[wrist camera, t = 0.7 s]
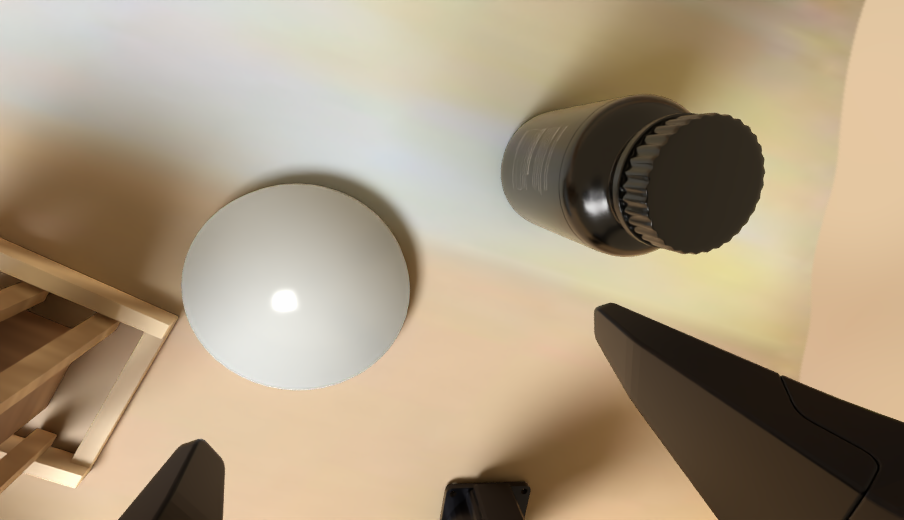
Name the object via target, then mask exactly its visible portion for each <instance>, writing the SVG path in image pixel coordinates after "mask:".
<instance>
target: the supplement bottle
mask: <svg viewBox="0 0 904 520" xmlns="http://www.w3.org/2000/svg"><path fill="white" fill-rule="evenodd" d="M763 165H764V157H763V155H762V148H761V145H760V144H759V143H758V141H757V136H756V135H755V134H753V133H752V132H751V129H750V127H749V126H747V125H744V124H743V123H742V121H741V120H740V119H734V118H733V117H731V116H730V115H726V114H724V115H720V114H718V113H705V114H694V113H690V112H689V111H688V110H687V109H686V108H684V107H683V106H681V105H680V104H678V103H677V102H675V101H673V100H671V99H668V98H665V97H662V96H658V95H651V94H638V95H630V96H625V97H620V98H614V99H609V100H604V101H599V102H594V103H589V104H584V105H579V106H574V107H569V108H564V109H559V110H554V111H549V112H546V113H542V114H540V115H537V116H535V117H533V118H532V119H530V120H528V121H527V122H526V123H524V124H523V125H522V126H521V127H520V128H519V129H518V130H517V131H516V132H515V134H514V135H513V137H512V138H511V140H510V141H509V143H508V145H507V147H506V150H505V152H504V156H503V160H502V165H501V180H502V186H503V190H504V193H505V195H506V198H507V200H508V202H509V203H510V205H511V206H512V208H513V209H514V210H515V211H516V212H517V213H518V214H519V215H520V216H521V217H523V218H524V219H526V220H527V221H529V222H531V223H533V224H535V225H537V226H540V227H542V228H544V229H547V230H549V231H551V232H554V233H556V234H558V235H561V236H563V237H566V238H568V239H570V240H573V241H575V242H577V243H580V244H582V245H584V246H587V247H589V248H591V249H594V250H596V251H599V252H602V253H605V254H608V255H613V256H620V257H632V256H639V255H643V254H647V253H650V252H653V251H656V250H658V249H660V248H663V249H667V250H670V251H674V252H678V253H681V254H687V253H690V254H698V253H700V252H709V251H710V250H712V249H714V248H715V249H716V248H719V247H720V246H722V245H723V244H724V243H727V242H729V241H730V240H731V239H732V237H733V236H734V235H736V234H738V233H739V232H740V230H741V228H742V227H743V226H744V225H745V224H746V223H747V222H748V220H749V217H750V216H751V214H752V213H753V212H754V211H755V207H756V204H757V202H758V201H759V199H760V193H761V190H762V188H763V185H764V184H763V177H764V174H765V170H764V166H763Z"/></svg>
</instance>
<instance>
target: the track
mask: <svg viewBox="0 0 904 520" xmlns="http://www.w3.org/2000/svg"><path fill="white" fill-rule="evenodd" d="M0 271H1V272H3V273H5V274H8V275H10V276H13V277H15V278H17V279H20V280H22V281H24V282H27V283H29V284H32V285H34V286H36V287H39V288H41V289H43V290H46V291H48V292H51V293H53V294H55V295H58V296H60V297H62V298H65V299H67V300H70V301H72V302H74V303H77V304H79V305H81V306H84V307H86V308H89V309H91V310H93V311H96V312H98V313H100V314H103V315H105V316H108V317H110V318H112V319H115V320H117V321H119V322H122V323H124V324H127V325H129V326H131V327H134V328H136V329H138V330H141V331H143V332H144V333H143V335H142V337H141V339H140V340H139V342H138V344H137V346H136V347H135V349H134V351H133V353H132V354H131V356H130V358H129V360H128V361H127V363H126V365H125V367H124V368H123V370H122V372H121V374H120V375H119V377H118V379H117V381H116V382H115V384H114V386H113V388H112V389H111V391H110V393H109V395H108V396H107V398H106V400H105V402H104V403H103V405H102V407H101V409H100V410H99V412H98V414H97V416H96V418H95V419H94V421H93V423H92V425H91V426H90V428H89V430H88V432H87V433H86V435H85V437H84V439H83V440H82V442H81V444H80V446H79V447H78V449H77V451H76V453H75V454H73V453H70V452H67V451H64V450H61V449H57V448H54V447H51V446H50V447H49V448H48V449H47V450H46V451H45V452H44V453H43V454H42V455H41V456H40V457H39V458H38V459H36V460H35V461H34V462H33V463H32V464H31V465H30V466H29V467H28V468H27V469H26V470H25V471H24V472H23V473H24V474H28V475H31V476H35V477H38V478H41V479H45V480H48V481H52V482H55V483H58V484H62V485H65V486H69V487H72V488H76V487H77V486H78V485H79V483H80V482H81V481H82V480H83V479H84V478H85V476H86V475H87V474H88V473H89V471H90V470H91V468H92V466H93V464H94V463H95V461H96V459H97V457H98V456H99V454H100V452H101V451H102V449H103V447H104V445H105V444H106V442H107V440H108V438H109V437H110V435H111V433H112V432H113V430H114V428H115V426H116V425H117V423H118V421H119V419H120V418H121V416H122V414H123V413H124V411H125V409H126V407H127V406H128V404H129V402H130V400H131V399H132V397H133V395H134V394H135V392H136V390H137V388H138V387H139V385H140V383H141V381H142V380H143V378H144V376H145V375H146V373H147V371H148V369H149V368H150V366H151V364H152V362H153V361H154V359H155V357H156V355H157V354H158V352H159V350H160V349H161V347H162V345H163V343H164V342H165V340H166V338H167V336H168V335H169V333H170V331H171V330H172V328H173V326H174V324H175V323H176V321H177V319H178V317H179V316H176V315H174V314H172V313H170V312H167V311H165V310H163V309H160V308H158V307H156V306H154V305H151V304H149V303H147V302H145V301H142V300H140V299H138V298H136V297H133V296H131V295H129V294H127V293H124V292H122V291H120V290H118V289H115V288H113V287H111V286H109V285H106V284H104V283H102V282H100V281H97V280H95V279H93V278H91V277H88V276H86V275H84V274H81V273H79V272H77V271H75V270H72V269H70V268H68V267H66V266H63V265H61V264H59V263H57V262H54V261H52V260H50V259H48V258H45V257H43V256H41V255H39V254H36V253H34V252H32V251H30V250H27V249H25V248H23V247H21V246H18V245H16V244H14V243H12V242H9V241H7V240H5V239H2V238H0ZM24 439H25V438H23V437H20V436H16V435H12V436H10V437H9V438H8V439H7V440H5V441H4V442H3V443H2V444H1V445H0V459H1V458H3V457H4V456H5V455H6V454H7V453H9V452H10V451H11V450H12V449H13V448H14V447H16V446H17V445H18V444H19V443H20V442H21V441H23V440H24Z"/></svg>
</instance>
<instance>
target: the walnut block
mask: <svg viewBox="0 0 904 520" xmlns="http://www.w3.org/2000/svg"><path fill="white" fill-rule="evenodd" d="M69 330H71V328H69V327H66V326H64V325H61V324H59V323H56V322H54V321H51V320H49V319H46V318H44V317H41V316H39V315H36V314H34V313H31V312H29V311H26V310H24V311H22V312H20V313H18V314H16V315H14V316H12V317H10V318H8V319H5V320H3V321H1V322H0V373H1V372H2V371H4V370H6V369H7V368H9V367H11V366H12V365H14V364H15V363H17V362H19V361H20V360H22V359H24V358H25V357H27V356H28V355H30V354H32V353H33V352H35V351H37V350H38V349H40V348H41V347H43V346H45V345H46V344H48V343H50V342H51V341H53V340H54V339H56V338H58V337H59V336H61V335H63V334H64V333H66V332H67V331H69ZM69 365H70V364H69ZM69 365H68V366H66V367H65V368H63V369H62V370H61V371H59V372H58V373H57V374H55V375H54V376H53V377H51V378H50V379H48V380H47V381H46V382H44V383H43V384H42V385H40V386H39V387H37V388H36V389H35V390H33V391H32V392H31V393H29V394H28V395H26V396H25V397H24V398H22V399H21V400H20V401H18V402H17V403H16V404H14V405H13V406H11V407H10V408H9V409H7V410H6V411H5V412H3V413H2V414H0V445H1V444H2V443H3V442H4V441H5V440H7V439H8V438H9V437H10V436H12V435H13V434H14V433H15V432H17V431H18V430H19V429H20V428H21V427H23V426H24V425H25V424H26V423H28V422H29V421H30V420H31V419H33V418H34V417H35V416H36V415H37V414H39V413H40V412H41V411H42V410H44V409H45V408H46V407H47V405H48V403H49V402H50V400H51V398H52V396H53V394H54V392H55V391H56V389H57V387H58V385H59V383H60V382H61V380H62V378H63V376H64V374H65V372H66V371H67V369H68V367H69Z"/></svg>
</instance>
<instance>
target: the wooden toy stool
mask: <svg viewBox="0 0 904 520" xmlns="http://www.w3.org/2000/svg"><path fill="white" fill-rule="evenodd" d="M48 293H49V292H48V291H46V290H43V289H41V288H39V287H36V286H34V285H32V284H29V283H27V282H24V281H22V282H20V283H17V284H15V285H12V286H10V287H7V288H4V289H2V290H0V322H1V321H3V320H5V319H8V318H10V317H12V316H14V315H16V314H18V313H20V312H22V311H24V310H26V309H29V308H31V307H33V306H35V305H37V304H39V303H41V302H43V301H44V300H45V299H46V297H47V295H48ZM119 323H120V322H119V321H117V320H115V319H112V318H110V317H108V316H105V315H103V314H100V313H97V314H95V315H93V316H92V317H90V318H89V319H87V320H85V321H84V322H82V323H80V324H79V325H77V326H76V327H74V328H72V329H71V330H69V331H67V332H66V333H64V334H63V335H61V336H59V337H58V338H56V339H54V340H53V341H51V342H50V343H48V344H46V345H45V346H43V347H41V348H40V349H38V350H37V351H35V352H33V353H32V354H30V355H28V356H27V357H25V358H24V359H22V360H20V361H19V362H17V363H15V364H14V365H12V366H11V367H9V368H7V369H6V370H4V371H2V372H1V373H0V414H2V413H3V412H5V411H6V410H7V409H9V408H10V407H11V406H13V405H14V404H16V403H17V402H18V401H20V400H21V399H22V398H24V397H25V396H26V395H28V394H29V393H31V392H32V391H33V390H35V389H36V388H37V387H39V386H40V385H42V384H43V383H44V382H46V381H47V380H48V379H50V378H51V377H53V376H54V375H55V374H57V373H58V372H59V371H61V370H62V369H63V368H65V367H66V366H68V365H69V364H70V363H72V362H73V361H74V360H76V359H77V358H79V357H80V356H81V355H83V354H84V353H85V352H87V351H88V350H90V349H91V348H92V347H94V346H95V345H96V344H98V343H99V342H100V341H102V340H103V339H105V338H106V337H107V336H109V335H110V334H111V333H113V332H114V331H116V329H117V327H118V325H119ZM56 436H57V434H54V433H51V432H48V431H45V430H42V429H39V428H37V429H36V430H34V431H33V432H32V433H31V434H30V435H28V436H27V437H26V438H25V439H24V440H23V441H21V442H20V443H19V444H18V445H17V446H16V447H14V448H13V449H12V450H11V451H10V452H9V453H7V454H6V455H5V456H4V457H3V458H1V459H0V494H1V493H2V492H3V491H4V490H5V489H6V488H7V487H8V486H9V485H10V484H11V483H12V482H13V481H14V480H15V479H16V478H17V477H18V476H20V475H21V474H22V473H23V472H24V471H25V470H26V469H27V468H28V467H29V466H30V465H31V464H32V463H33V462H34V461H35V460H36V459H38V458H39V457H40V456H41V455H42V454H43V453H44V452H45V451H46V450H47V449H48V448H49V447H50V446H51V445H52V443H53V441H54V440H55V438H56Z"/></svg>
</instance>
